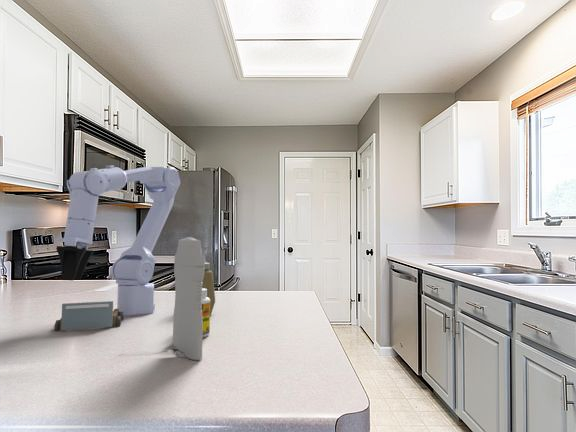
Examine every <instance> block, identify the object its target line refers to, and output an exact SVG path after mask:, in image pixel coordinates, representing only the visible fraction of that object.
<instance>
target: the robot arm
mask: <svg viewBox="0 0 576 432" xmlns="http://www.w3.org/2000/svg"><path fill="white" fill-rule="evenodd" d="M133 182H139V183H140V184H142V185H143V187H144V189H145V191H146V193H147V194H148V196H149V198H150V199H151V200H152V201H153V202H152V205H151V206H150V208H149V210H148V212H147V214H146V215H145V216H146V217H145V218H144V220H143V223H142V225H141V227H140V229H139V230H138V233H137V235H136V237H135V239H134V241H133V243H132V246H131V247H129V248H128V249H126V250H125V251H122V253H121V254H120V256H119V258H117V259H116V260H115V261H114V263H113V264H112V266H111V276H112V278H113V279H114V280H115V284H116V285H117V299H116V300H117V302H116V304H117V307H116V309H119V312H123V316H136V315H147V314H148V315H149V314H150V315H151V314H154V311H155V306H156V305H155V304H156V303H154V300H155V299H154V296H155V283H151V282H150V280H151V279H152V278H153V275H154V268H155V264H156V262H157V260H156V258H155V256H154V255H153V253H152V252H153V250H154V248H155V246H156V244H157V241H158V239H159V237H160V235H161V232H162V230H163V228H164V225H165V224H166V222H167V219H168V217H169V215H170V213H171V210H172V208H173V206H174V202H175V196H176V195H177V192H178V189H179V187H180V185H181V179H180V176H179V171H178V170H177V169H176V168H175V167H173V166H169V167H166V166H145V167H137V168H133V169H126V170H123V169H122V168H120V167H115V165H105V168H101V169H98V168H97V167H94V168H93V167H92V168H90V169H89V170H86V171H84V170H83V171H75V172H74V173H73V174H71V175H70V177H69V179H66V187H67V190H68V192H69V196H68V199H69V205H68V211H67V218H66V223H65V230H64V236H63V237H58V238H57V242H62V243H64V246H62V245H61V246H60V245H56V247H55V249H56V252H57V254H58V257H59V258H58V259H59V261H60V272H61V280H62V281H71V282H72V281H75V280H76V281H81V279H82V277H83V275H84V273H85V269H86V267H87V264H88V263H89V261H90V259H91V257H92V256H93V254H94V253H95V251H94V250H91V249H90V250H89V246H90V245H93V238H94V237H93V236H94V229H95V223H96V218H97V217H96V216H97V212H98V211H97V210H98V204H99V197H100V195H103V194H104V193H106V192H112V191H116V190H121V189H123V188H125V186H126V185H127V183H133Z"/></svg>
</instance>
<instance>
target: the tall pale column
mask: <svg viewBox="0 0 576 432" xmlns="http://www.w3.org/2000/svg"><path fill="white" fill-rule="evenodd" d="M202 250H203V249H202V243H201V239H196V238H194V237H190V236H189V237H185V238H182V239H178V243H177V250H176V253H175V255H174V265H173V273H174V277H175V278H174V280H175V281H174V283H175V288H174V289H175V291H174V294H175V295H174V309H173V317H172V318H173V321H172V322H173V323H172V324H173V325H172V345H173V346H174V347H175V348H173V349H172V351H173V352H174V351H175V352H174V353H175V356H176V357H178V358H184V359H187V358H188V360H190V361H196V362H198V361H199V362H200V361H203V338H202V332H203V318H202V285H203V283H202V280H203V278H204V268H205V258H206V257H205V258H204V257H203V255H202Z"/></svg>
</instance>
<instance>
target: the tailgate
mask: <svg viewBox="0 0 576 432" xmlns="http://www.w3.org/2000/svg"><path fill="white" fill-rule="evenodd" d="M113 311H114V301H113V300H110V301H109V300H108V301H107V300H105V301H92V302H91V301H90V302H87V301H86V302H70V303H66V302H65V303H62V304H61V317H62V319H61V318H60V319H61V330H67V331H74V330H73V329H81V330H88V329H87V328H95V329H102V328H101V327H109V328H113V327H112V325H113Z"/></svg>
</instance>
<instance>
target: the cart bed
mask: <svg viewBox="0 0 576 432" xmlns="http://www.w3.org/2000/svg"><path fill="white" fill-rule="evenodd" d="M61 319H62V316H61V318H60V319H57V320H55V323H54V328H53V329H54V332H65V331H68V330H61ZM123 320H124V315H123V312H119V309H117V308H113V325H112V327H111V328H119V327H121V324H122V322H123ZM105 328H106V329H108V328H110V327H101V328H100V329H105ZM89 329H90V330H93V329H96V328H87V329H86V330H89ZM79 330H82V329H73V330H72V331H79Z"/></svg>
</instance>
